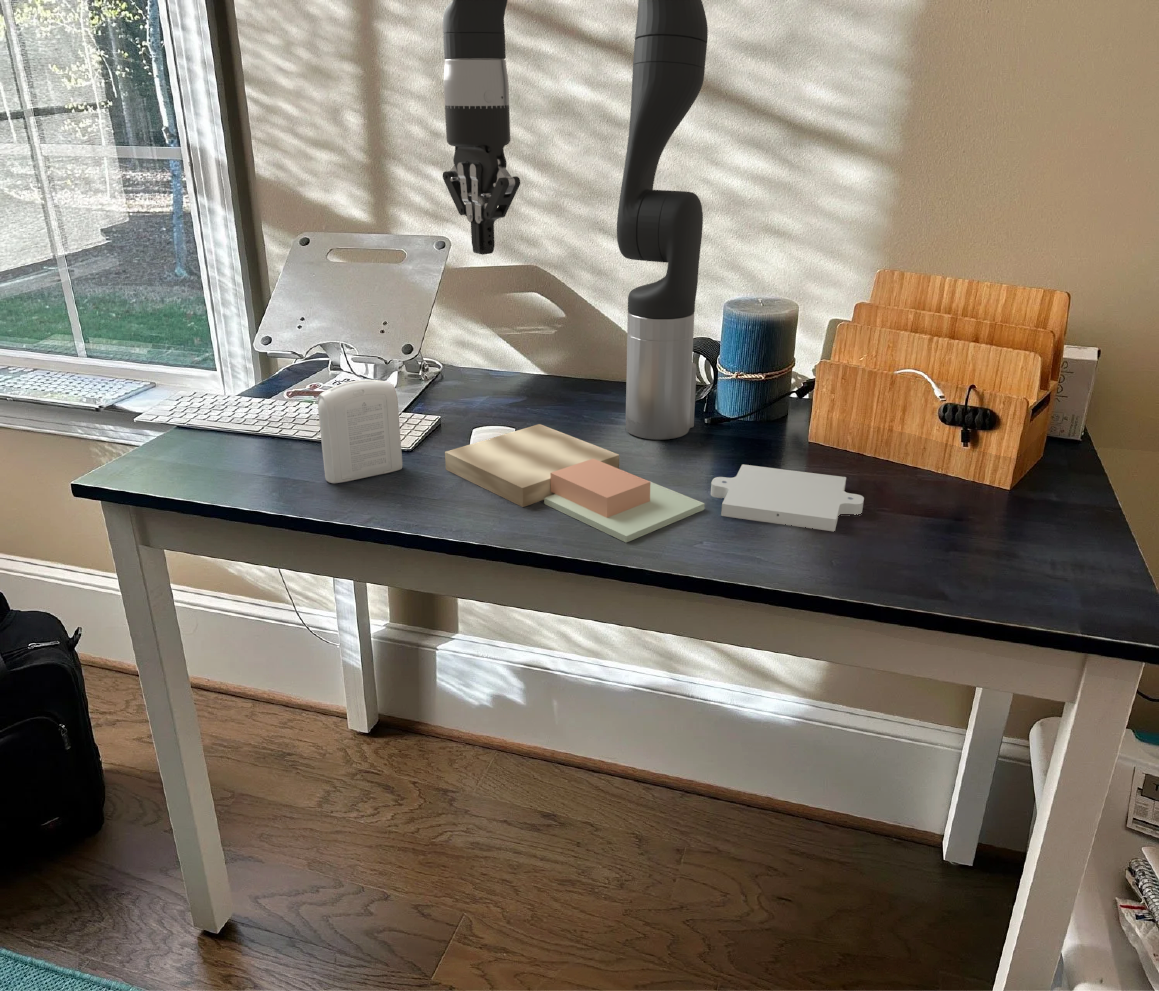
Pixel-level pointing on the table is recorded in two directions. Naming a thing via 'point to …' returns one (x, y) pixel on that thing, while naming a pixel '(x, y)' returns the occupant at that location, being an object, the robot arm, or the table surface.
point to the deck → (523, 462)
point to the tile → (600, 487)
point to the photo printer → (359, 430)
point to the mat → (633, 513)
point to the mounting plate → (786, 497)
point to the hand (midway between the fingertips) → (483, 252)
